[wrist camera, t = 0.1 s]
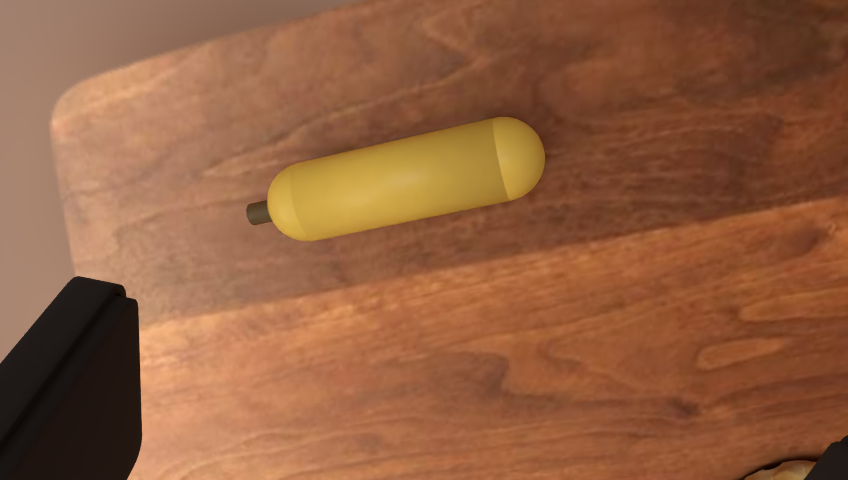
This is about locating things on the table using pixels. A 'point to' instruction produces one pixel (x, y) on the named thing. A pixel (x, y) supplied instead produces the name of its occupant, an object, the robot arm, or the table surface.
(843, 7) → the table surface
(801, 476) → the pastry
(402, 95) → the table surface
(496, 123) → the yellow gas cartridge
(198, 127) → the table surface
